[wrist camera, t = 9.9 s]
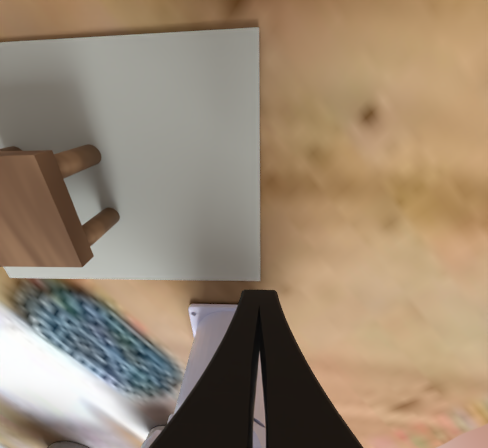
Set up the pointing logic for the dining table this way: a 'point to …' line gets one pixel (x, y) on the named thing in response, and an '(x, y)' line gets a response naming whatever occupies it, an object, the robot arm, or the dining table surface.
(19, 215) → the stool
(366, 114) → the dining table surface
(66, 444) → the coffeepot
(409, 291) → the dining table surface
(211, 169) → the mat
